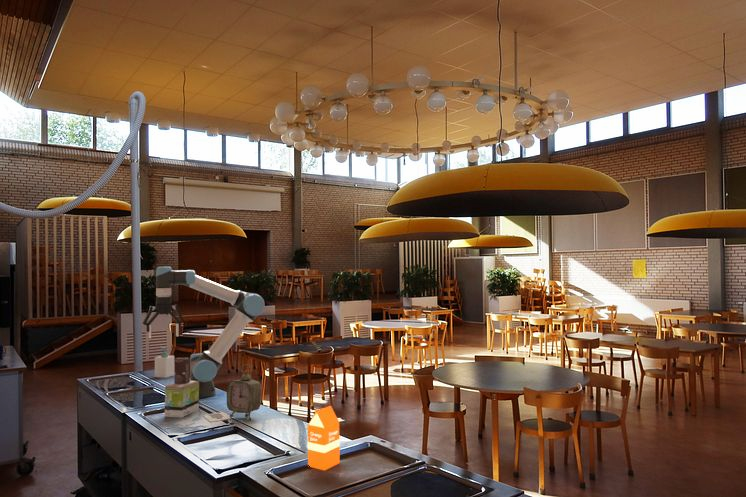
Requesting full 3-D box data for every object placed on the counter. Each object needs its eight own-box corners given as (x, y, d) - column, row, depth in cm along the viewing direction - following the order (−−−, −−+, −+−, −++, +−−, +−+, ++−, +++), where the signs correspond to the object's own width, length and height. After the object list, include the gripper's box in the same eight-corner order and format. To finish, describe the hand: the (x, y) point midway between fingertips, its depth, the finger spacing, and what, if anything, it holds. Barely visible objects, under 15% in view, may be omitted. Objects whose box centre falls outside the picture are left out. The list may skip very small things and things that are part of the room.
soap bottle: (163, 374, 364) (163, 345, 365) (174, 375, 361) (174, 346, 362) (154, 377, 356) (154, 347, 357) (165, 377, 353) (165, 348, 354)
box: (174, 383, 266) (173, 358, 267) (178, 381, 271) (178, 357, 271) (185, 384, 265) (185, 359, 266) (190, 382, 270) (190, 357, 270)
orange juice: (307, 466, 196) (307, 409, 196) (323, 458, 203) (322, 404, 203) (324, 470, 191) (324, 412, 192) (340, 462, 199) (339, 407, 199)
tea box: (183, 418, 259) (183, 386, 260) (164, 417, 261) (164, 385, 262) (199, 409, 274) (199, 380, 274) (181, 409, 276) (181, 379, 276)
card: (223, 412, 268) (223, 411, 268) (231, 418, 257) (231, 417, 257) (202, 415, 263) (202, 414, 263) (210, 422, 252) (210, 421, 252)
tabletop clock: (225, 417, 257) (228, 363, 258) (238, 413, 265) (240, 361, 266) (250, 422, 250) (252, 367, 252) (262, 418, 258) (265, 364, 260)
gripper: (139, 297, 277) (139, 340, 276) (190, 295, 290) (190, 336, 290) (136, 297, 283) (136, 338, 283) (186, 295, 296) (186, 334, 296)
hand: (163, 337), depth 286 cm, fingers open, 13 cm apart
